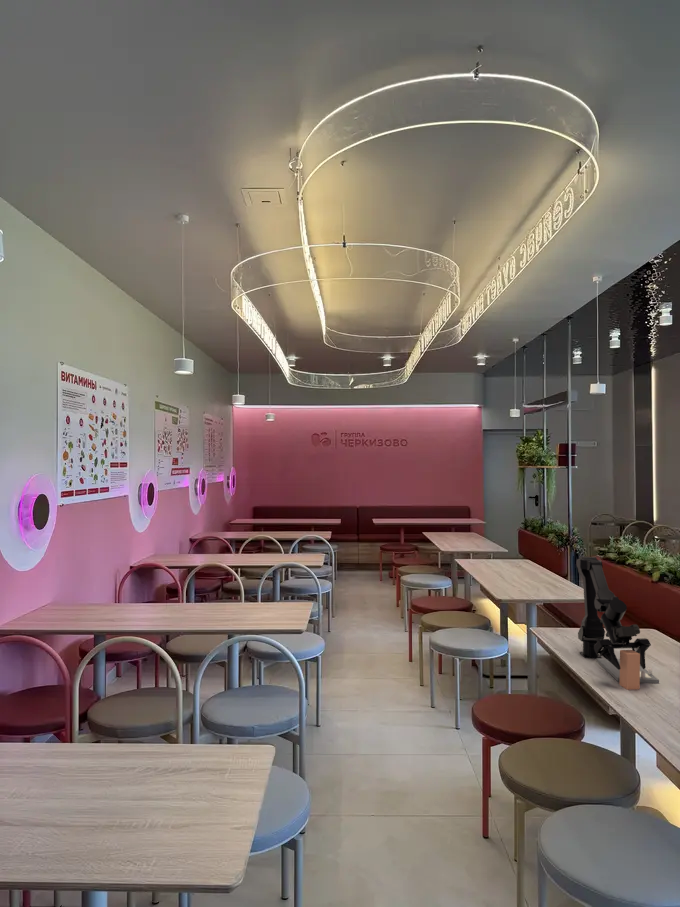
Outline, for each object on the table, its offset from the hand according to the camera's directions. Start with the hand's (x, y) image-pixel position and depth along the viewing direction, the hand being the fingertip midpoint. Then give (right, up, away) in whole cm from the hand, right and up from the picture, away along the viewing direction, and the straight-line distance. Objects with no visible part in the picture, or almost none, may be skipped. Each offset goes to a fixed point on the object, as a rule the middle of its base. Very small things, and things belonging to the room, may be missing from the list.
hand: (632, 668), depth 207 cm
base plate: (+6, -7, +17) cm, 19 cm away
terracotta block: (0, -7, +1) cm, 7 cm away
